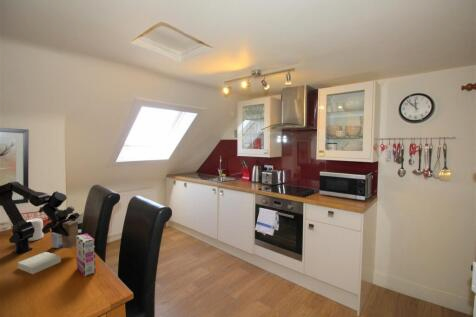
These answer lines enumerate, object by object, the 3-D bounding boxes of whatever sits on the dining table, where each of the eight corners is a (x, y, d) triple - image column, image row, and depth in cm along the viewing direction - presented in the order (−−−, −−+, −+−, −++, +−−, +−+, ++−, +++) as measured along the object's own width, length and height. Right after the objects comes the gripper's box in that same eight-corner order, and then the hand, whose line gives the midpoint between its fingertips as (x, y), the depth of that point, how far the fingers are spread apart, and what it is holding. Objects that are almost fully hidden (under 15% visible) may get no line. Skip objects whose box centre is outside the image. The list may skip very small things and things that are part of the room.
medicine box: (57, 248, 135) (57, 233, 134) (51, 247, 136) (50, 233, 135) (70, 242, 143) (69, 228, 142) (64, 241, 143) (63, 228, 143)
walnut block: (62, 247, 125) (61, 223, 124) (70, 243, 130) (69, 220, 129) (70, 248, 125) (69, 224, 124) (78, 244, 130) (77, 221, 129)
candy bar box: (96, 272, 111) (95, 239, 110) (84, 277, 107) (82, 242, 106) (88, 264, 118) (87, 232, 117) (76, 268, 115) (75, 235, 113)
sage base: (18, 268, 114) (17, 262, 114) (46, 257, 125) (45, 251, 125) (32, 274, 109) (32, 268, 109) (60, 261, 120) (60, 256, 120)
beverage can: (29, 242, 142) (28, 223, 141) (24, 239, 146) (23, 220, 145) (45, 237, 149) (44, 219, 148) (40, 235, 153) (39, 217, 152)
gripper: (45, 208, 117) (66, 231, 116) (76, 198, 135) (94, 218, 135) (32, 222, 119) (53, 245, 118) (64, 211, 137) (82, 231, 136)
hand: (72, 234), depth 127 cm, fingers closed on walnut block, 5 cm apart
